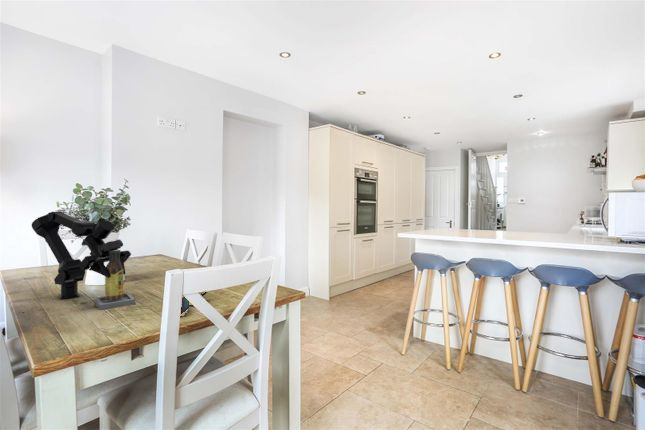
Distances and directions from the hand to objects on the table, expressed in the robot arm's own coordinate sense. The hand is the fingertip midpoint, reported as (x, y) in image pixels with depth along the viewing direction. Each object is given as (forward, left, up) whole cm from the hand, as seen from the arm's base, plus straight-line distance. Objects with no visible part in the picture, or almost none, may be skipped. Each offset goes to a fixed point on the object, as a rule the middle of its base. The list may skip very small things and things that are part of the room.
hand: (117, 275), depth 128 cm
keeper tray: (-1, -1, -12) cm, 12 cm away
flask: (+28, +16, -12) cm, 34 cm away
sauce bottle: (-1, -1, -10) cm, 10 cm away
